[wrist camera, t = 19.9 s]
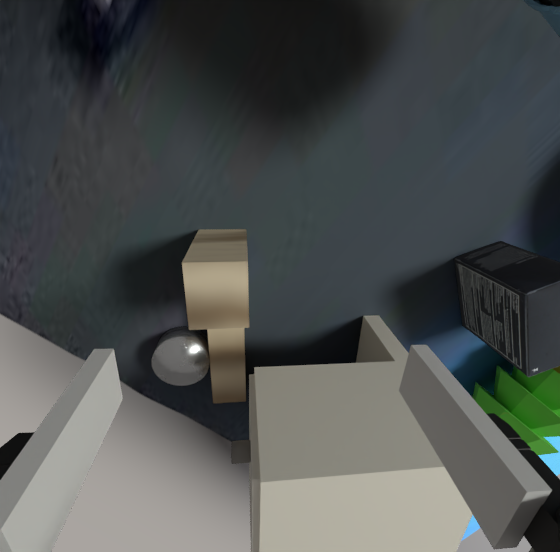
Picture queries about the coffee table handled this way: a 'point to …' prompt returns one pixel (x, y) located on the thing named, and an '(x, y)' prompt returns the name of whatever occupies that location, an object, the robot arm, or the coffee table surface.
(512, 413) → the decorative tree
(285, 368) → the cabinet
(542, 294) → the small box
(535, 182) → the coffee table surface
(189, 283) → the tan l-shaped block
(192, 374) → the grey rounded puck
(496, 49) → the coffee table surface
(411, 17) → the coffee table surface
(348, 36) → the coffee table surface
